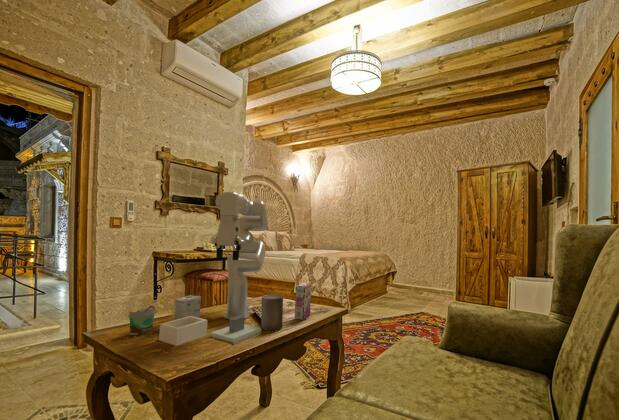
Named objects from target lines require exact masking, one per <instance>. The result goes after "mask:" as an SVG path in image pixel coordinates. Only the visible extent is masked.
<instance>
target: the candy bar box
mask: <svg viewBox="0 0 619 420" xmlns="http://www.w3.org/2000/svg"><path fill="white" fill-rule="evenodd" d="M294 299H295V301H294V302H295V303H294V305H295V306H294V320H297V321H304V320H306V319H307V318H308V317H310V316H311V301H312V300H311V299H312V283H309V282H302V283H300V284H298V285H296V286H295V298H294ZM305 318H306V319H305Z"/></svg>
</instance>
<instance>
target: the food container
mask: <svg viewBox="0 0 619 420" xmlns="http://www.w3.org/2000/svg"><path fill="white" fill-rule="evenodd" d="M156 314H157V308H156V306H154V305H149V307H147V308H144V309H143V308H141V309H139V310H138V311H129V313H128V318H129V335H130V336H131V335H132V336H134V335H135V336H137V335H138V336H139V335H145V334H148V333H151V332H152V331H153V326H154V320H155V315H156Z"/></svg>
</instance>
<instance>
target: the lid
mask: <svg viewBox="0 0 619 420" xmlns="http://www.w3.org/2000/svg"><path fill="white" fill-rule="evenodd" d="M245 320H246V319H245V317H244V316H237V317H234V318H231V319H230V320H229V322H228V323H229V324H228V325H229V326H226V327H223V328H221V329H217V330H214V331H212V332H210V337H211V338H214V339H218V340H220V341H221V340H222V341H225V342H229V343H231V344H230V345H231V346H235V345H238V344H240V343H243V342H245V341H248V340H250V339H253V338H254V337H257V336H260V335H261V334H262V328H261V327H260V326H259V327H258V326H254V325H251V324H250V325H249V324H245Z"/></svg>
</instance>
